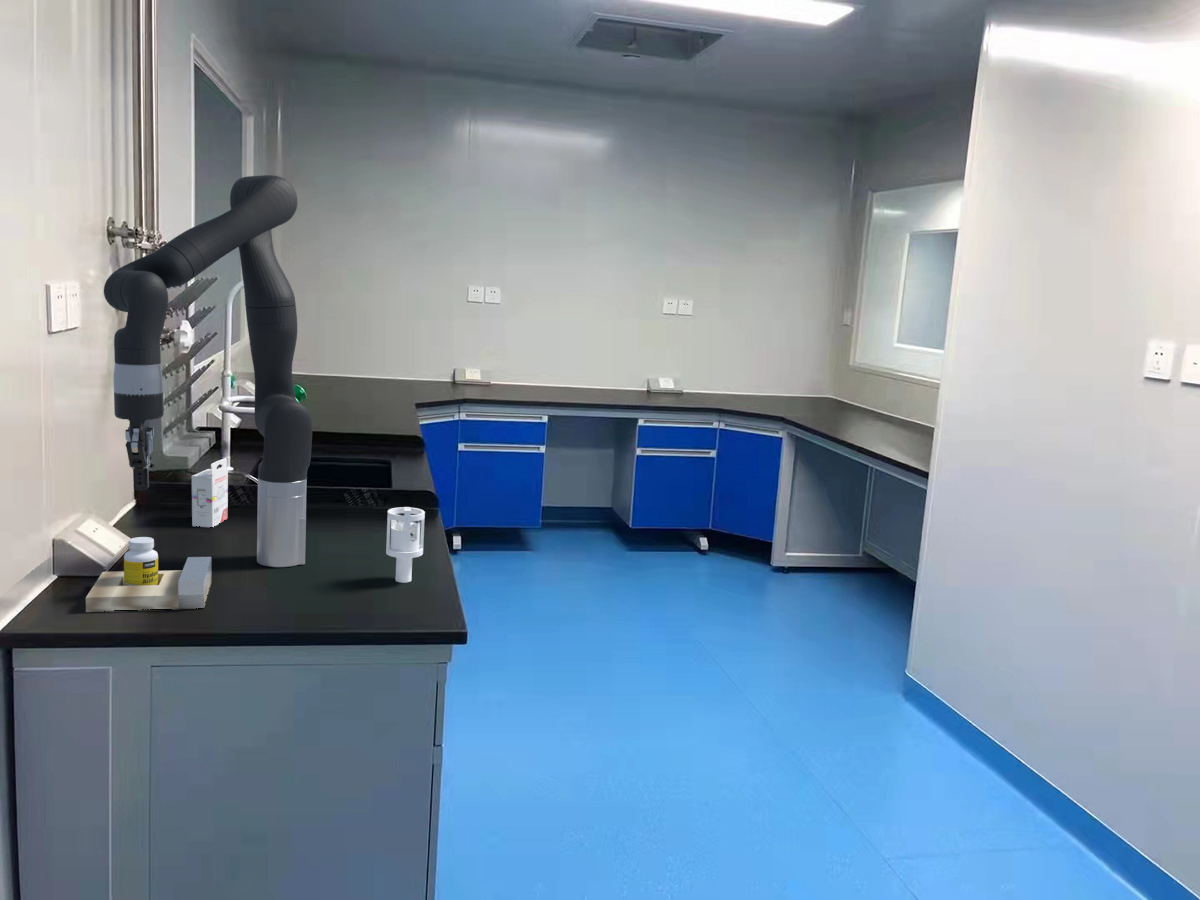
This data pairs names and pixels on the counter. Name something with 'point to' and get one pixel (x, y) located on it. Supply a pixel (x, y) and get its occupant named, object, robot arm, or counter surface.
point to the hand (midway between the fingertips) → (141, 489)
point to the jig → (154, 589)
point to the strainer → (405, 539)
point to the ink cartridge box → (210, 495)
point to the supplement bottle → (141, 563)
